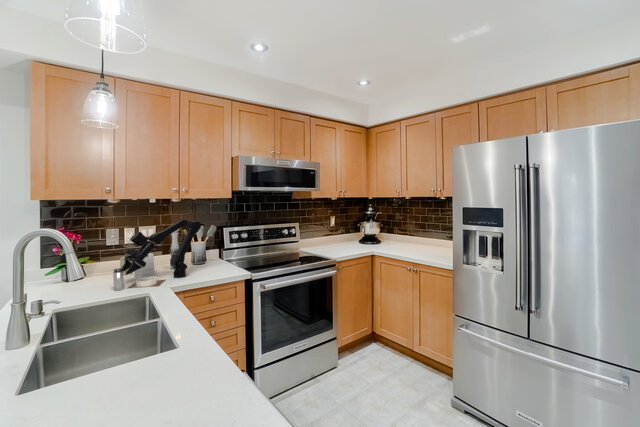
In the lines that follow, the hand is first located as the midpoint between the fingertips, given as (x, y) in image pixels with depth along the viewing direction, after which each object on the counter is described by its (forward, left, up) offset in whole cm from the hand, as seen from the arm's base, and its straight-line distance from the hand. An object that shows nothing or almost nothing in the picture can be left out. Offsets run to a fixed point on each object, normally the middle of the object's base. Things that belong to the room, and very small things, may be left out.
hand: (123, 273), depth 165 cm
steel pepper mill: (+2, +2, -10) cm, 10 cm away
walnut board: (-10, -7, -10) cm, 16 cm away
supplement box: (+1, -33, -10) cm, 35 cm away
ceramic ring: (-9, -7, -9) cm, 15 cm away
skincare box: (+15, -41, -10) cm, 45 cm away
